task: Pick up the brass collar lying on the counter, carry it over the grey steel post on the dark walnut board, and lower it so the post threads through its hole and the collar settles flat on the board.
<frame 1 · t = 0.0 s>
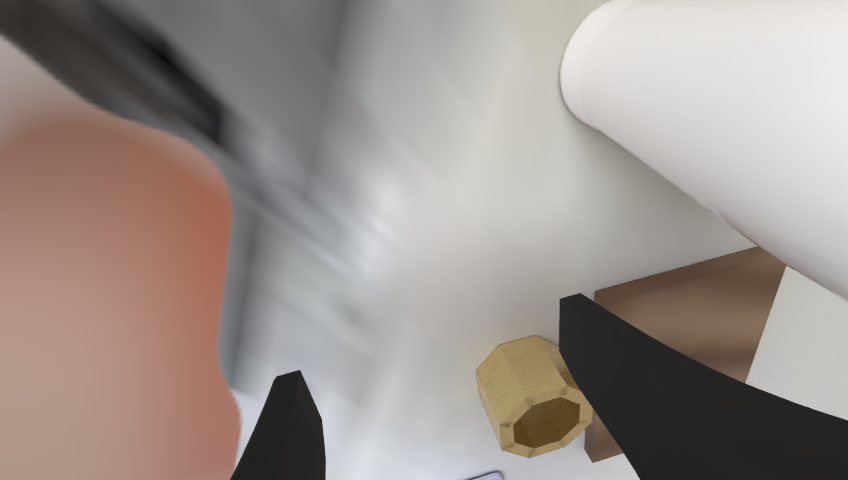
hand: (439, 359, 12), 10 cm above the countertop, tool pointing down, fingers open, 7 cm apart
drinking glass: (607, 62, 20), on the countertop
hub board: (667, 357, 31), on the countertop
brass collar: (519, 371, 29), on the countertop
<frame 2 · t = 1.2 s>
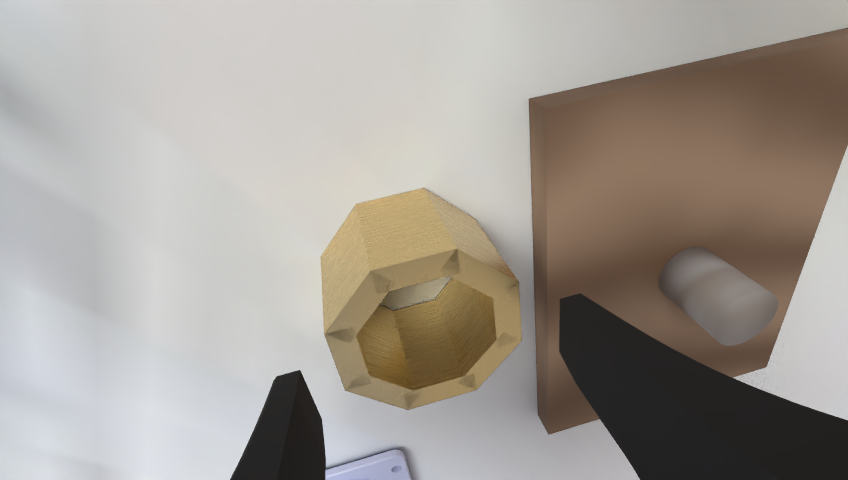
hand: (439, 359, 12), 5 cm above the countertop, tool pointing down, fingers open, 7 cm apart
hub board: (665, 256, 19), on the countertop
brass collar: (404, 263, 16), on the countertop
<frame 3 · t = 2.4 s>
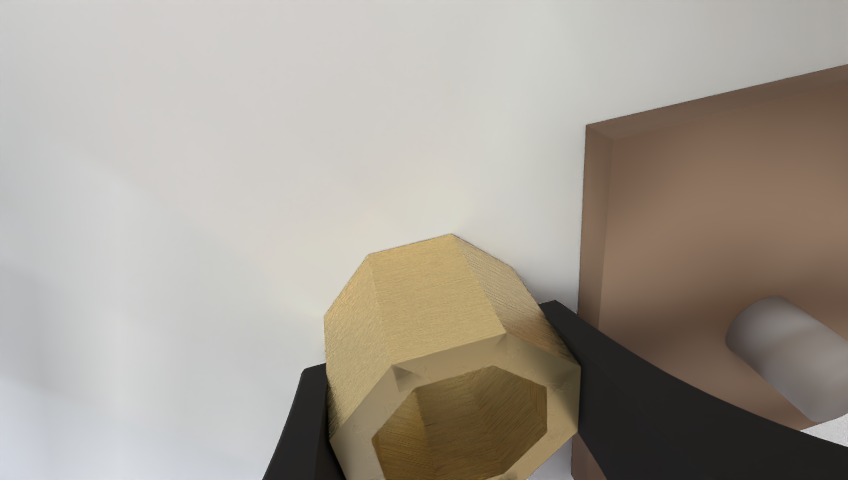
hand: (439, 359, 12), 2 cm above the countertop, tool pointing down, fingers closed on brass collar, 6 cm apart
hub board: (729, 303, 16), on the countertop
brass collar: (425, 321, 13), on the countertop, touching gripper
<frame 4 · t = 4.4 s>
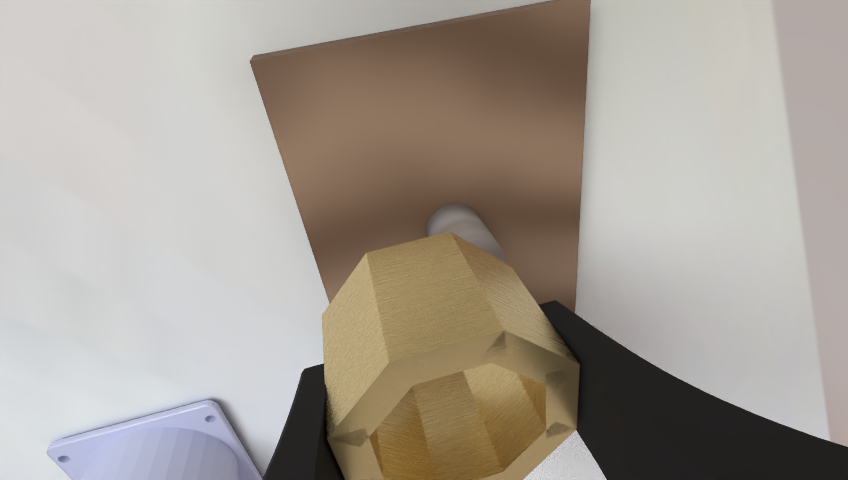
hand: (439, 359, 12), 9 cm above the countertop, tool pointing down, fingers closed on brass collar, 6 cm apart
hub board: (445, 215, 20), on the countertop
brass collar: (424, 319, 13), point 7 cm above the countertop, touching gripper
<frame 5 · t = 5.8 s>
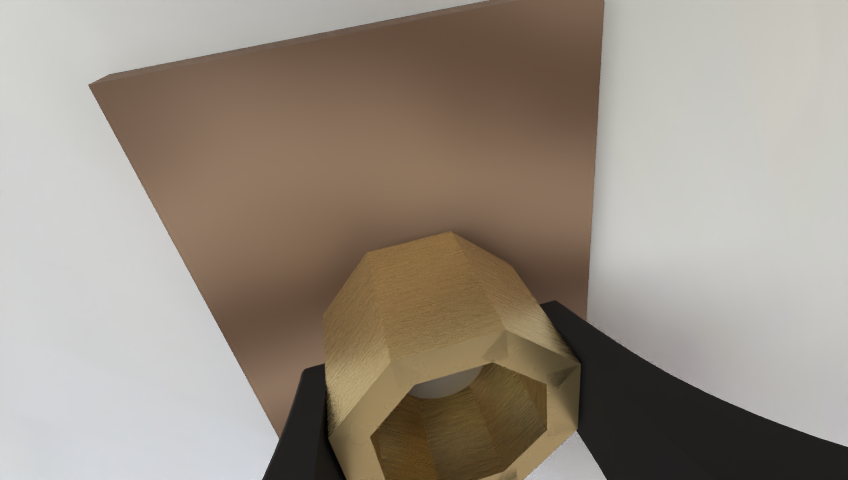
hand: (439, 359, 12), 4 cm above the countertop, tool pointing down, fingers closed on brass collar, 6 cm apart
hub board: (411, 277, 15), on the countertop
brass collar: (425, 319, 13), point 2 cm above the countertop, touching gripper
when the fingers open (4 cm above the countertop, at t = 6.8 s): brass collar stays where it is, resting on hub board.
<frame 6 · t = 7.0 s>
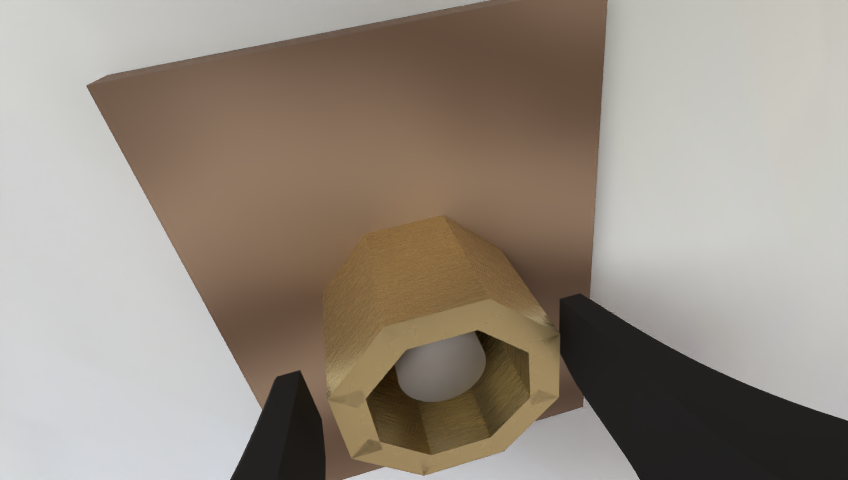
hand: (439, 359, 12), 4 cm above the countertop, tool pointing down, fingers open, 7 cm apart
hub board: (411, 279, 15), on the countertop
brass collar: (419, 298, 14), point 1 cm above the countertop, touching hub board
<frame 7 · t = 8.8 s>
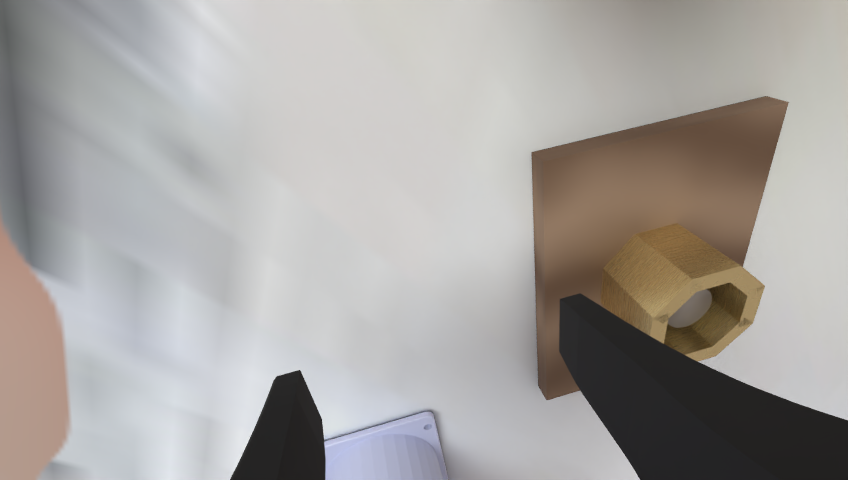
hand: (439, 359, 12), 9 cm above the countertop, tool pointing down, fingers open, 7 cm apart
hub board: (635, 261, 25), on the countertop
brass collar: (649, 272, 24), point 1 cm above the countertop, touching hub board
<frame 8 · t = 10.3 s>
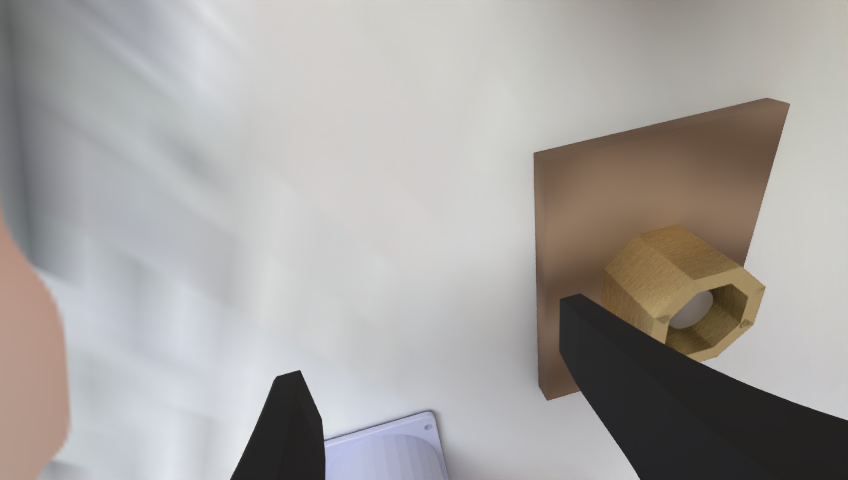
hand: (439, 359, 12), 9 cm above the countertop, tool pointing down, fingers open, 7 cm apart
hub board: (636, 262, 25), on the countertop
brass collar: (650, 273, 24), point 1 cm above the countertop, touching hub board
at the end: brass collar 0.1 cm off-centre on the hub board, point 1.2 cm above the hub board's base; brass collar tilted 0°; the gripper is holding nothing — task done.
